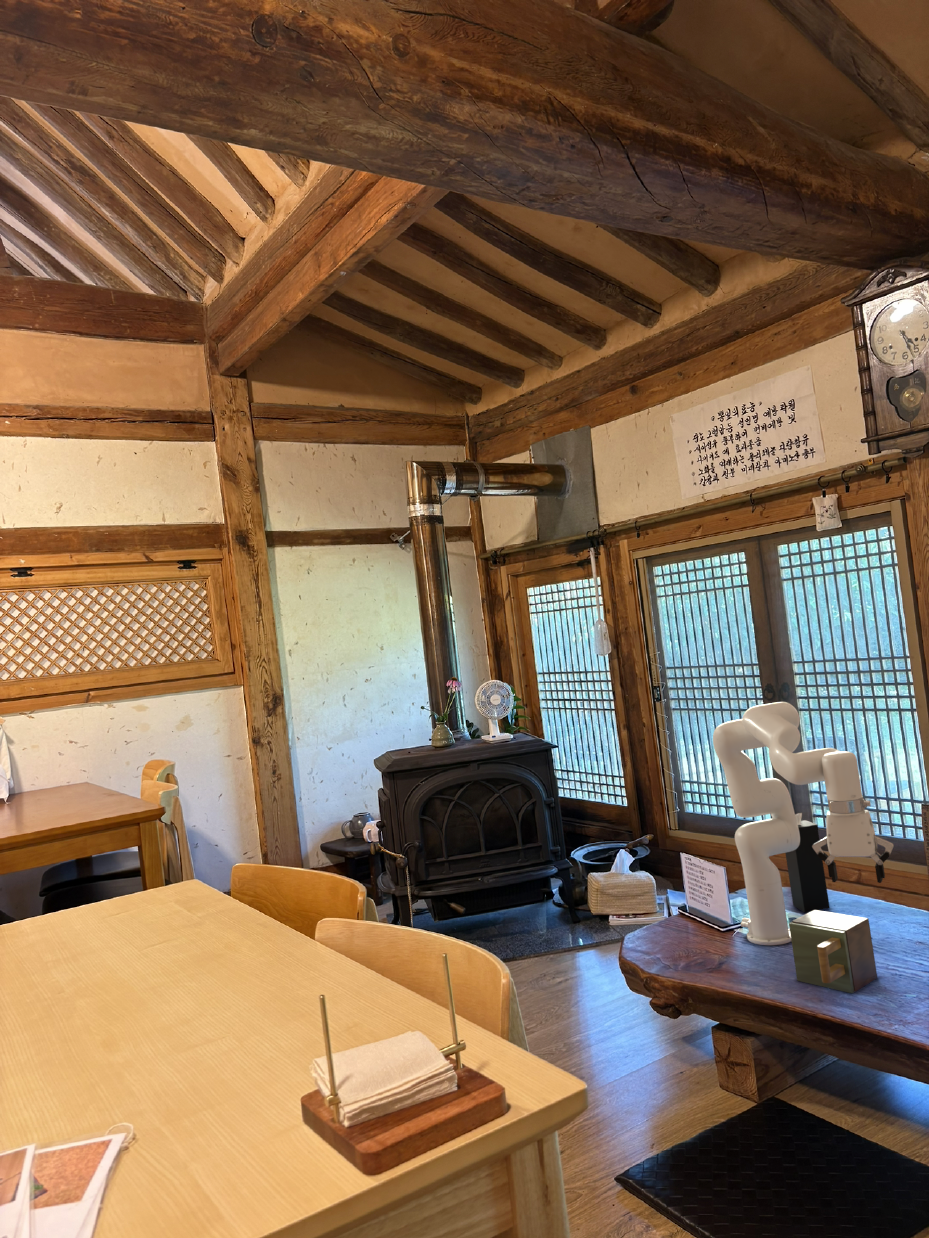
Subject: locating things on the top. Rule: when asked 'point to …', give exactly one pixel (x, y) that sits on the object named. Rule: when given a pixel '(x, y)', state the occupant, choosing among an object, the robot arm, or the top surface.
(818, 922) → the cupboard
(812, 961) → the door
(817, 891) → the tall black block
